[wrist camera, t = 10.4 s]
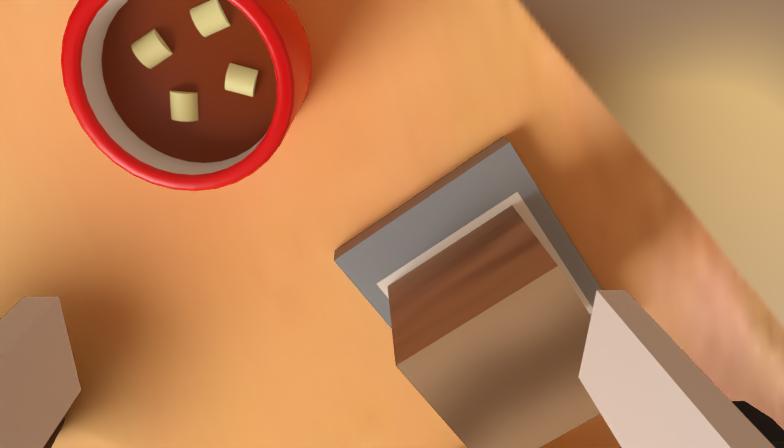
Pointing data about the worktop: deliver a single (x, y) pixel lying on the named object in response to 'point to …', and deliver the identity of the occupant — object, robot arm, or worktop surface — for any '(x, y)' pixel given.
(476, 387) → the walnut block
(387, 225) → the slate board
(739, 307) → the worktop surface
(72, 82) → the mug
